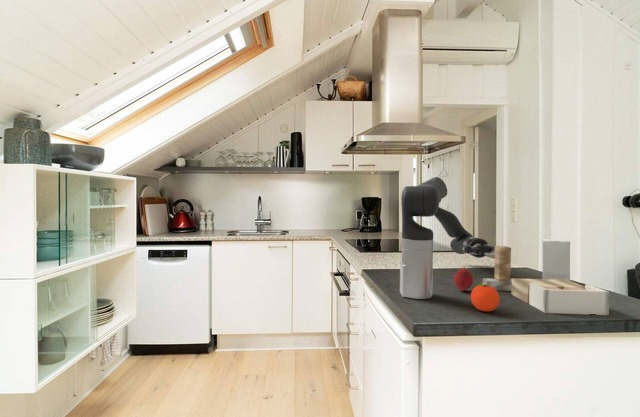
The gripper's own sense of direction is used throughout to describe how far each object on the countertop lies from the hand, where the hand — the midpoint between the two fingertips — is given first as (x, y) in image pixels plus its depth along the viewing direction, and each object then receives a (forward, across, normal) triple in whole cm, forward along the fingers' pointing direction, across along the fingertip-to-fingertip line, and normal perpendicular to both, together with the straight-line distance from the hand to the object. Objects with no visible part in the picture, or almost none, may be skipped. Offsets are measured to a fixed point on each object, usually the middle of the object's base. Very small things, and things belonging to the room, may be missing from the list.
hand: (491, 252), depth 125 cm
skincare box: (-2, +23, +11) cm, 26 cm away
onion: (+14, -14, +11) cm, 23 cm away
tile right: (+26, +12, +8) cm, 30 cm away
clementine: (+34, -15, +12) cm, 39 cm away
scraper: (+9, 0, +11) cm, 14 cm away
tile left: (+26, +5, +8) cm, 28 cm away
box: (+30, +8, +11) cm, 33 cm away
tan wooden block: (+21, +8, +11) cm, 25 cm away
